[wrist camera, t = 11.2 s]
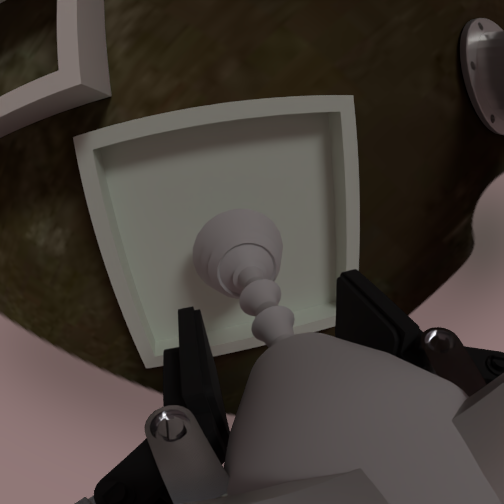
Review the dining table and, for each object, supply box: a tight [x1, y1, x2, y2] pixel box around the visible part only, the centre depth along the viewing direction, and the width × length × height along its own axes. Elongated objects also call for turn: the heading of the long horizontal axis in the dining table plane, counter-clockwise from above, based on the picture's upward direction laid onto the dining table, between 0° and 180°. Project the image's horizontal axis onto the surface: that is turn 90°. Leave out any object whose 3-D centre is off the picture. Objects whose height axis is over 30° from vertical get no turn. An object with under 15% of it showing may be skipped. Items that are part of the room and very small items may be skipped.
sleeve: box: [0, 0, 111, 138], centre depth 9 cm, size 12×12×6 cm
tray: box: [73, 95, 360, 368], centre depth 19 cm, size 16×16×2 cm
